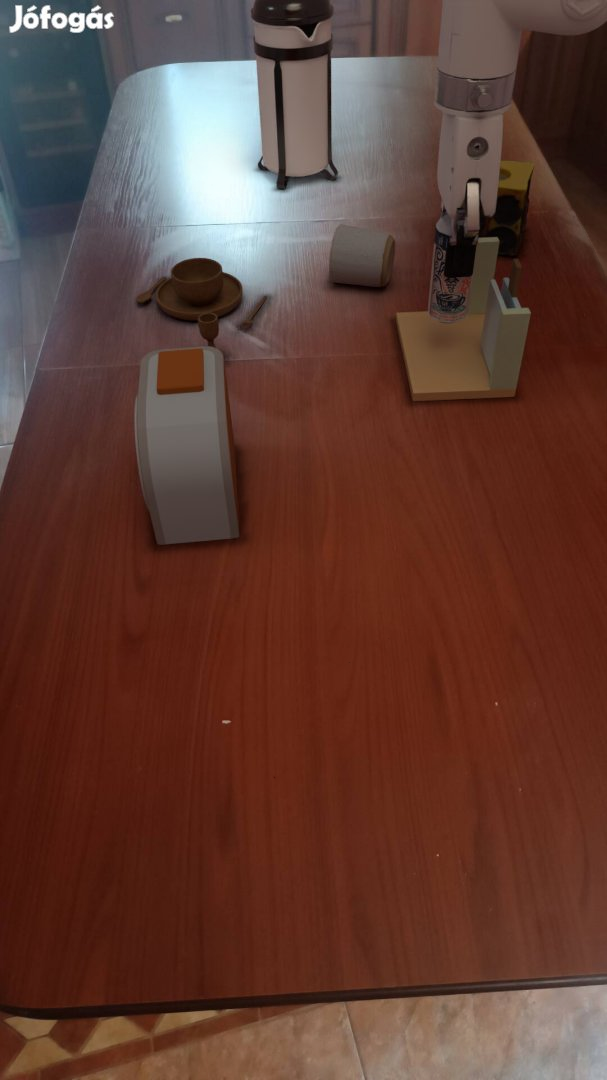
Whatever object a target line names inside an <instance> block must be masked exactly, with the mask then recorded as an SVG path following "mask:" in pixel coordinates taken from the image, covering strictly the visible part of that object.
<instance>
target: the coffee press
mask: <svg viewBox="0 0 607 1080" xmlns="http://www.w3.org/2000/svg"><path fill="white" fill-rule="evenodd" d="M334 13H335V12H334V5H333V4H331V1H330V0H254V2H253V7H251V9H250V18H251V20H252V22H253V30H254V31H253V32H254V36H253V52H254V54H255V59H256V60H255V62H256V63H255V65H256V76H257V77H256V78H257V79H256V80H257V92H258V93H257V95H258V110H259V124H260V138H261V154H262V155H261V157H260V159H259V160H258V162H257V167H258V169H259V170H260V171H265V170H266V169H267V170H268V171H269V172H272V173H273V174H276V175H277V179H276V189H280V190H281V189H282V190H286V189H287V187H288V184H289V181H290V178H291V177H293V178H294V177H305V176H306V177H307V176H312V175H315V174H318V173H323V175H325V177H326V178H327V179H329V180H330V181H333V180H335V179H336V178H337V177H338V176H339V171H338V169H337V168H336V166H335V164H334V162H333V152H332V151H333V147H332V140H333V139H332V135H333V133H332V130H333V129H332V51H333V48H334V47H333V43H334V41H333V40H334V39H333V37H334V35H333V33H332V18H333V17H334ZM262 162H263V163H262ZM328 166H329V169H330V170H331V171H332V173H333V174H334V175H332V174H331V173H330V171H329V170H328V169H327V167H328Z"/></svg>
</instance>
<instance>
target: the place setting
mask: <svg viewBox="0 0 607 1080" xmlns="http://www.w3.org/2000/svg"><path fill="white" fill-rule="evenodd" d="M170 276H171V277H168V278H167V277H166V276H163V277H161V278H160V279H158V280H157V281H156V283H155V284H153V285H152V287H150V289H148V290H147V291H145V292H142V293H140V294H138V295H137V296H136V298H135V301H136V303H139V304H144V303H147V302H148V301H150V300H151V298H152V295H153V294H152V292H153V291H155V289H156V292H155V298H156V303H157V304H158V306H159V308H160V309H161V310H162V311H163V312H164V313H166V314H167V315H169V316H171V317H174V318H176V319H178V320H179V319H180V320H184V321H197V325H198V331H199V333H200V336H201V338H202V339H204V340H206V342H207V346H210V347H214V348H217V347H216V345H215V339H217V338H218V336H219V334H220V333H219V332H220V325H219V317H222V316H224V315H226V314H228V313H230V312H231V311H232V310H234V309H235V308H237V306H238V305H239V303H240V302H241V300H242V298H243V293H244V292H243V291H244V290H243V284H242V282H241V281H240V279H238V278H237V277H236V276H234V275H232V274H230V273H228V272H225V271H223V266H222V265H221V263H220V262H218V261H217V260H216V259H213V258H208V257H193V258H187V259H183V260H181V261H179V262H177V263H176V264H174V265H173V267H172V268H171V270H170ZM166 278H167V279H166ZM267 298H268V295H264V296H263V297H262V299H260V301H259V303H258V304H257V305H256V306H255V307H254V309H253V310H252V312H251V313H250V315H249V316H248V318H246V319H245V320H244V321H242V323H240V324H239V325H238V326H237V327H236V328H237V329H238V328H239V329H245V330H246V329H248V328H249V327H251V326H252V325H253V320H252V319H253V318H254V316H255V315H256V314H257V312H258V311H259V310H260V308H261V307H262V306H263V304H264V303H265V301H266V300H267Z"/></svg>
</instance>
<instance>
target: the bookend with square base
mask: <svg viewBox="0 0 607 1080" xmlns="http://www.w3.org/2000/svg"><path fill="white" fill-rule="evenodd" d="M498 248H499V239H498V237H488V238H478V245H477V252H476V259H475V267H474V274H473V281H472V288H471V296H470V303H469V310H468V315H467V317H466V318H465V319H463V320H461V321H458V322H455V323H441V322H439V321H436V320H435V319H433V318H431V317H430V315H429V314H428V310H427V311H426V310H425V311H424V310H423V311H405V312H404V311H403V312H395V323H396V328H397V329H396V330H397V334H398V338H399V343H400V347H401V353H402V357H403V362H404V366H405V372H406V376H407V381H408V385H409V386H408V387H409V390H410V395H411V400H412V402H429V401H430V402H431V401H454V400H455V401H456V400H474V399H475V400H476V399H496V398H497V399H500V398H515V395H516V391H517V386H518V383H519V376H520V370H521V366H522V361H523V355H524V352H525V351H524V350H525V345H526V341H527V335H528V331H529V326H530V319H531V315H532V312H531V310H530V309H529V307H521V308H509V309H507V308H506V305H505V303H504V300H503V298H502V296H501V290H500V289H499V286H498V283H497V281H496V279H495V273H496V266H497V262H498V261H497V260H498V255H499V254H498Z"/></svg>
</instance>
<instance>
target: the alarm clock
mask: <svg viewBox="0 0 607 1080" xmlns="http://www.w3.org/2000/svg"><path fill="white" fill-rule="evenodd" d="M225 363H226V362H225V356H224V354H223V352H222V351H221V350H220V349H218V348H217V347H216V348H214V347H210V346H208V345H200V346H199V345H198V346H188V347H175V348H162V349H156V350H152V351H150V352H148V353H146V354H145V355H144V356H142V357H141V360H140V364H139V371H138V372H139V373H138V384H137V385H138V387H137V395H136V397H135V402H134V416H133V417H134V420H133V421H134V441H135V449H136V450H135V452H136V461H137V469H138V475H139V482H140V487H141V492H142V495H143V496H142V497H143V499H144V502H145V505H146V508H147V510H148V511H149V512H148V513H149V516H150V521H151V525H152V529H153V533H154V538H155V541H156V544H157V545H158V546H163V545H174V544H185V543H196V542H206V541H207V542H208V541H209V542H210V541H218V540H219V541H221V540H231V539H238V538H240V537H241V536H240V535H241V529H240V528H241V527H240V512H239V511H240V510H239V509H240V508H239V494H238V492H239V491H238V475H237V458H236V447H235V439H234V431H233V422H232V421H233V420H232V413H231V404H230V397H229V387H228V381H227V371H226V364H225Z"/></svg>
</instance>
